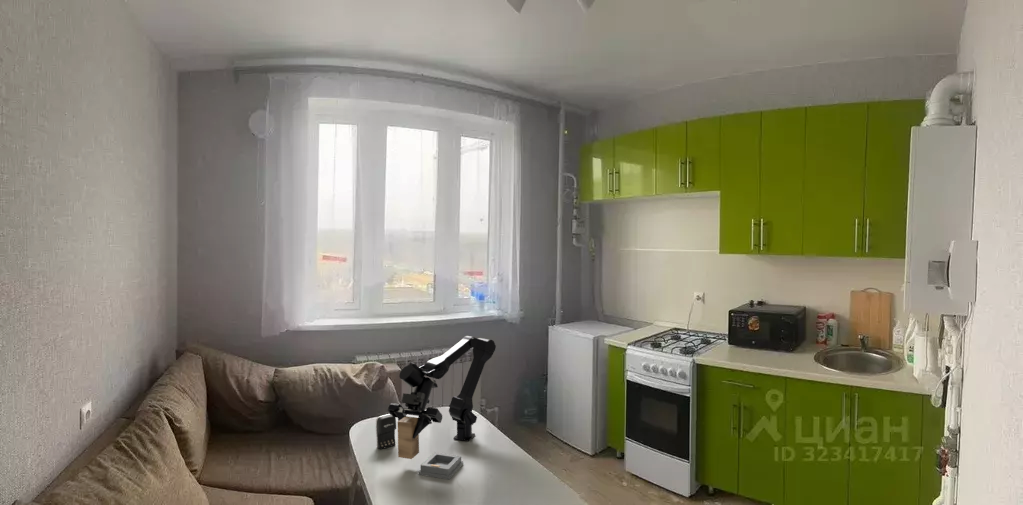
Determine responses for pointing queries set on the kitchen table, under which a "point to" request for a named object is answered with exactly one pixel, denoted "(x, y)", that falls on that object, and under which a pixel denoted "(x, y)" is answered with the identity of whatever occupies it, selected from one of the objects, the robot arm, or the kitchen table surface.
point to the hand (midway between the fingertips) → (406, 437)
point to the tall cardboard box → (407, 438)
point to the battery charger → (385, 431)
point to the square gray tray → (441, 465)
